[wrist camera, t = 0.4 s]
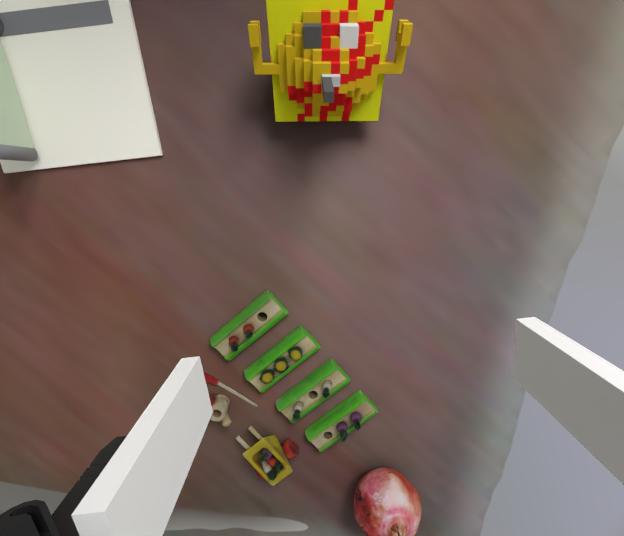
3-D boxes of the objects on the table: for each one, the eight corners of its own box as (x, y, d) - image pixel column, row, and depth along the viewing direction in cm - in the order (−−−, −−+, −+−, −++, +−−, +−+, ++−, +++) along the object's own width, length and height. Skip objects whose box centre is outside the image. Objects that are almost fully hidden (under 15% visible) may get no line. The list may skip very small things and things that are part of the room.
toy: (396, -11, 32) (442, 14, 21) (381, 98, 39) (410, 158, 28) (256, -10, 32) (231, 15, 21) (266, 99, 39) (251, 159, 28)
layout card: (-81, -89, 31) (-87, -93, 31) (105, -113, 31) (102, -117, 30) (6, 173, 37) (3, 173, 37) (163, 155, 37) (161, 155, 37)
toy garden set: (378, 405, 47) (385, 428, 42) (277, 476, 50) (274, 505, 45) (268, 288, 42) (263, 300, 37) (164, 375, 45) (148, 396, 41)
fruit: (372, 514, 51) (386, 592, 41) (337, 474, 49) (345, 547, 39) (423, 487, 50) (450, 561, 40) (390, 445, 48) (410, 512, 38)
